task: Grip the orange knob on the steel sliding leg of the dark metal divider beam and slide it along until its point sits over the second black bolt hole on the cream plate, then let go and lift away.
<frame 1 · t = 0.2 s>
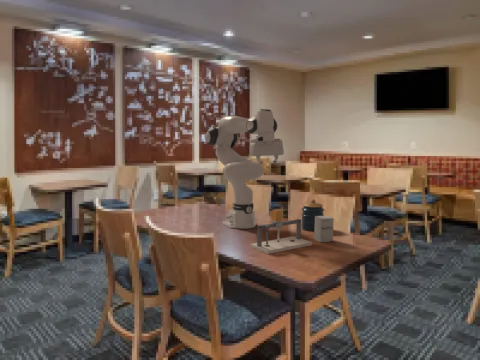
hand: (267, 164, 215), 39 cm above the table, tool pointing down, fingers open, 8 cm apart
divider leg: (276, 226, 196), point 10 cm above the table, slide at -2.0 cm
hole plate: (281, 246, 197), on the table
supplement box: (323, 241, 208), on the table
canister: (312, 229, 234), on the table
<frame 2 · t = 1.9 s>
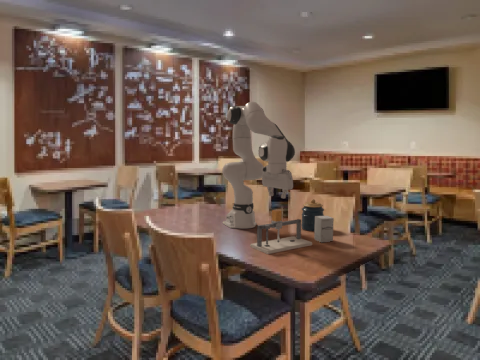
hand: (277, 197, 195), 25 cm above the table, tool pointing down, fingers open, 8 cm apart
nothing on the table moved.
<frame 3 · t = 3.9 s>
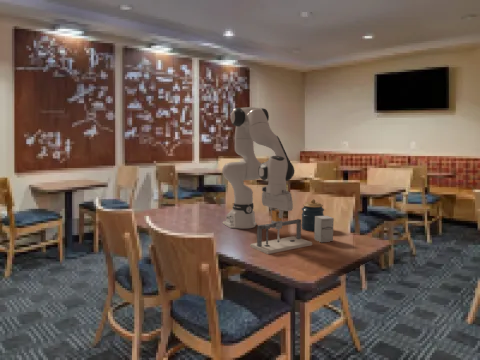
hand: (276, 217, 196), 15 cm above the table, tool pointing down, fingers closed on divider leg, 3 cm apart
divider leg: (276, 226, 196), point 10 cm above the table, slide at -2.0 cm, touching gripper
everything else where it was.
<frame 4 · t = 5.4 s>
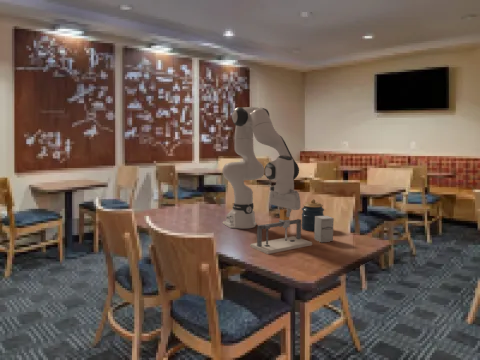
hand: (284, 216, 198), 15 cm above the table, tool pointing down, fingers closed on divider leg, 3 cm apart
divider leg: (284, 224, 199), point 10 cm above the table, slide at 2.9 cm, touching gripper
everything else where it was.
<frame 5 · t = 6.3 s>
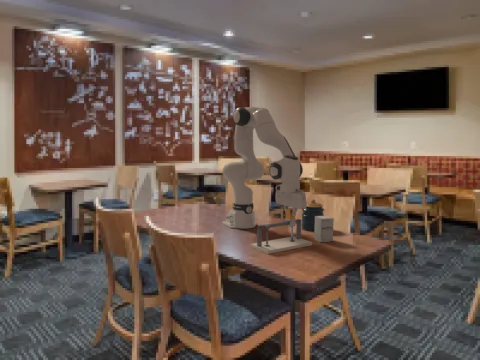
hand: (290, 215, 201), 15 cm above the table, tool pointing down, fingers closed on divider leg, 3 cm apart
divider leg: (290, 224, 201), point 10 cm above the table, slide at 6.8 cm, touching gripper
everything else where it was.
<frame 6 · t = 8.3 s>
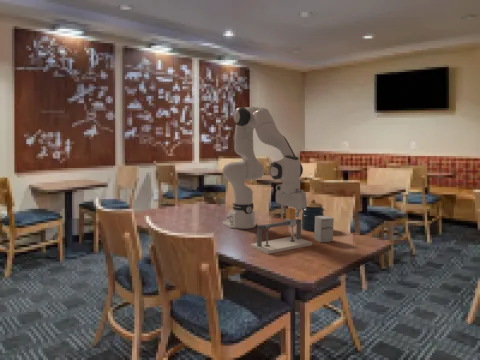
hand: (290, 215, 201), 15 cm above the table, tool pointing down, fingers open, 8 cm apart
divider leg: (290, 223, 201), point 10 cm above the table, slide at 7.0 cm
everything else where it was.
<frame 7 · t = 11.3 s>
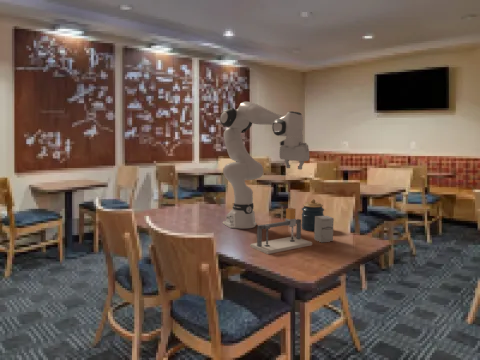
hand: (293, 168, 210), 37 cm above the table, tool pointing down, fingers open, 8 cm apart
nothing on the table moved.
at the end: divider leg slide at 7.0 cm; the gripper is holding nothing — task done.
